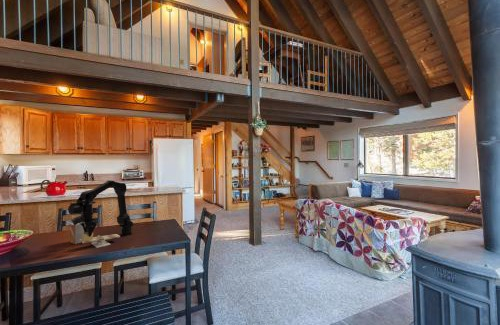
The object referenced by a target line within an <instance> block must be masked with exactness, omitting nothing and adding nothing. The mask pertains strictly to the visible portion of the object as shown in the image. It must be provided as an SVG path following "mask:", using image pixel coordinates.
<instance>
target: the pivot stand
mask: <svg viewBox="0 0 500 325" xmlns="http://www.w3.org/2000/svg"><path fill="white" fill-rule="evenodd" d="M100 236H101V235H99V234H98V235H97V236H96V237H100ZM90 243H91V245H92V246H94V247H95V248H97V249H98V248H102V247H107V246H110V245H111V243H109V242H108V241H107V240H104V238H102V240H101V241H94V242H90Z"/></svg>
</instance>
